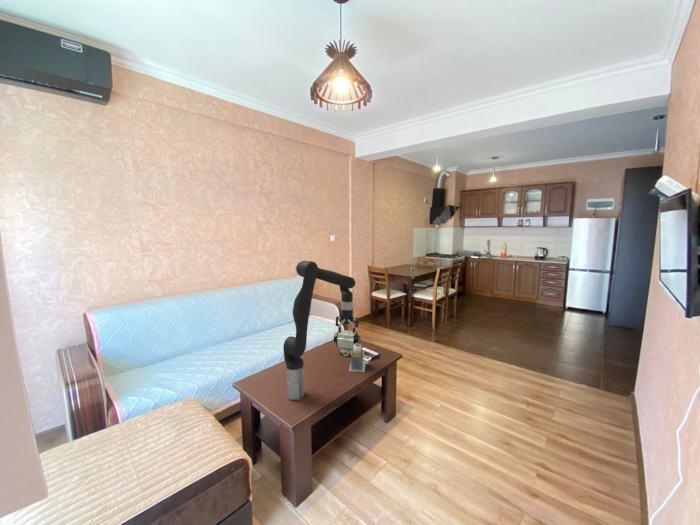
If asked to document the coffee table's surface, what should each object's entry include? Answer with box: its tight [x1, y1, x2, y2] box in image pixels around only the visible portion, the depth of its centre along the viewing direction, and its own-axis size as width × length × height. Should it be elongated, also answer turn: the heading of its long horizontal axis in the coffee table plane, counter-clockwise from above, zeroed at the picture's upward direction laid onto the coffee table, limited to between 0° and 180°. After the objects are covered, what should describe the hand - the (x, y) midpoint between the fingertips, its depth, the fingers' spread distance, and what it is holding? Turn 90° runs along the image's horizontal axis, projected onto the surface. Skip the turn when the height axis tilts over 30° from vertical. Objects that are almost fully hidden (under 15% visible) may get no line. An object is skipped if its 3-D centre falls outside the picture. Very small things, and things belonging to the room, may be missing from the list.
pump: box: [353, 343, 362, 352], centre depth 192 cm, size 5×5×7 cm
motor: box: [348, 346, 367, 373], centre depth 193 cm, size 12×10×12 cm
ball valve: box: [333, 329, 362, 357], centre depth 210 cm, size 18×8×18 cm, turn 73°
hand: (346, 332), depth 187 cm, fingers open, 8 cm apart
